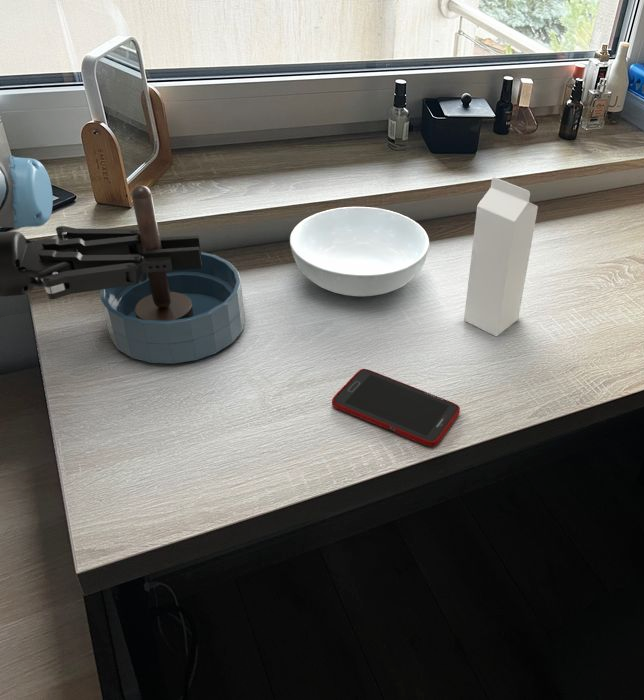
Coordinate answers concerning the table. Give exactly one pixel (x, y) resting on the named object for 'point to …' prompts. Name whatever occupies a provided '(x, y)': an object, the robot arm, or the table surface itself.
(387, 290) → the serving bowl
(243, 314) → the mixing bowl
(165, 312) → the paper towel holder
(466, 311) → the milk
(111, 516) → the table surface
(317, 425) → the table surface
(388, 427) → the cell phone
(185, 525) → the table surface
